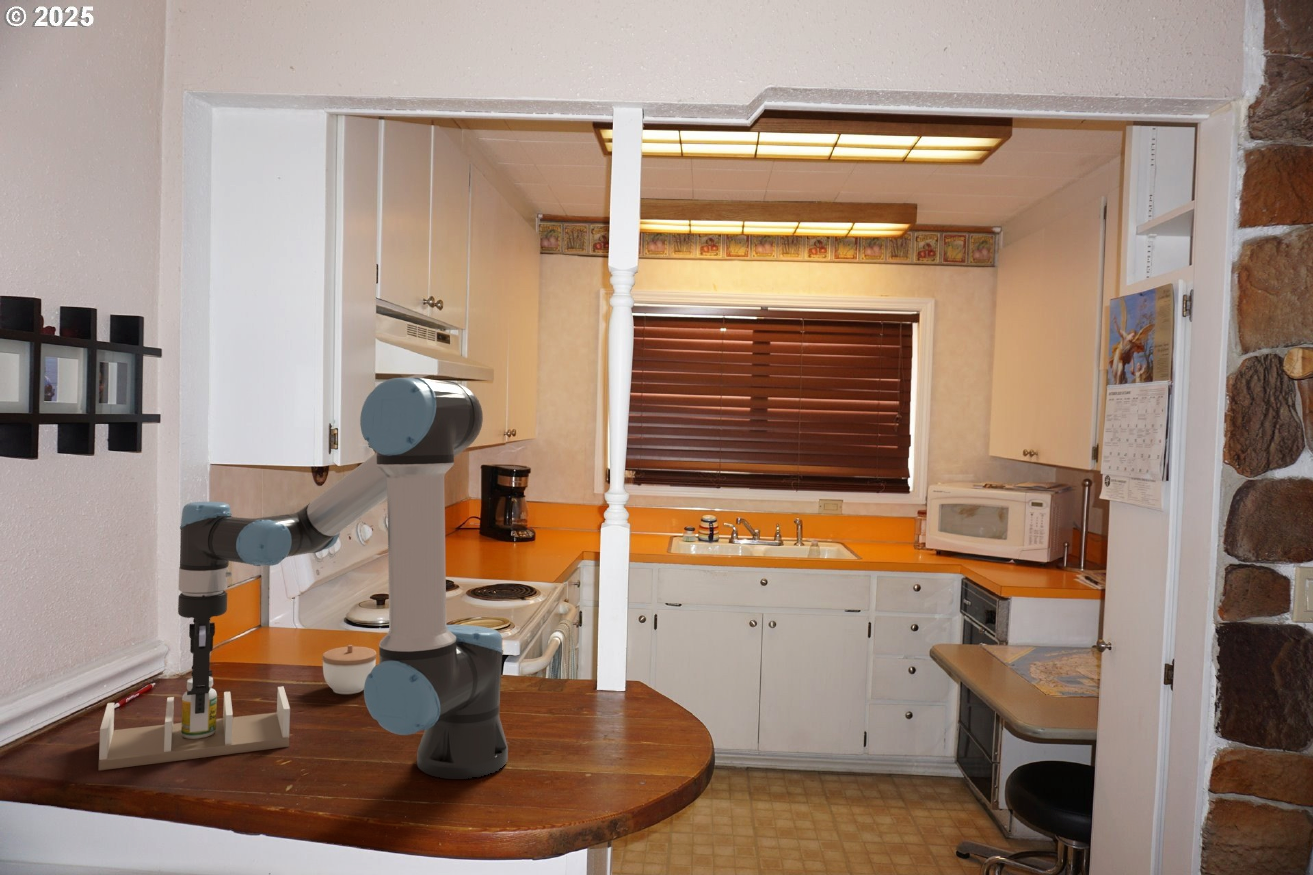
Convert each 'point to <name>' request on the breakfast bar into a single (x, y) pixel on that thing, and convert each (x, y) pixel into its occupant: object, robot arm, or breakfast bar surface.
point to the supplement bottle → (187, 708)
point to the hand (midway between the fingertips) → (198, 722)
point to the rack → (172, 746)
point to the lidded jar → (348, 668)
